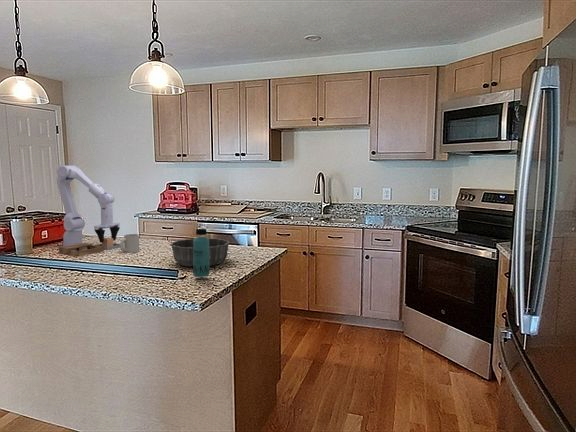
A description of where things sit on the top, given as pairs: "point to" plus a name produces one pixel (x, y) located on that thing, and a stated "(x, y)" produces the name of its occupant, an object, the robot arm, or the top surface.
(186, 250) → the bundt pan
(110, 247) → the dump tray
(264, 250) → the top surface
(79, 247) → the flat stone
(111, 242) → the stone block
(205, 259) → the beverage bottle
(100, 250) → the wooden pallet
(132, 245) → the cup
